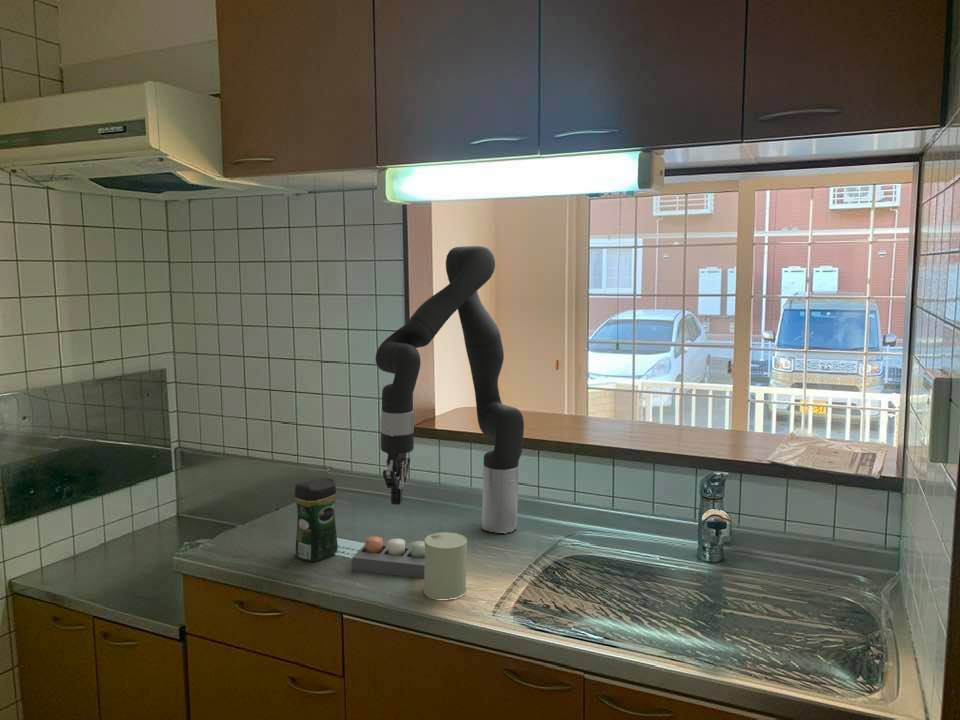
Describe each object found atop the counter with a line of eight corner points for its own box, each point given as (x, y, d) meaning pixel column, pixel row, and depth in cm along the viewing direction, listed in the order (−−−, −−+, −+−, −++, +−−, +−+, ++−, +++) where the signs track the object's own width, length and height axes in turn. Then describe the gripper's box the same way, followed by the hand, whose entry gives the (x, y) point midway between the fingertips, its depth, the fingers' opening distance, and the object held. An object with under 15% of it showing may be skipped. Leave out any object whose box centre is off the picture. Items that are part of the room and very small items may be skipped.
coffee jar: (320, 544, 183) (320, 471, 180) (342, 552, 178) (342, 478, 175) (289, 556, 175) (288, 480, 172) (311, 565, 170) (310, 487, 168)
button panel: (370, 550, 180) (370, 538, 179) (438, 557, 176) (438, 545, 176) (352, 570, 168) (352, 557, 168) (424, 578, 165) (424, 565, 164)
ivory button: (390, 550, 174) (391, 537, 174) (407, 551, 173) (407, 539, 173) (385, 556, 170) (385, 544, 170) (401, 558, 170) (401, 545, 169)
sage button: (413, 552, 173) (413, 540, 173) (429, 554, 172) (429, 541, 172) (408, 559, 169) (408, 546, 169) (424, 560, 168) (425, 548, 168)
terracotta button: (368, 547, 175) (368, 535, 175) (384, 549, 175) (384, 537, 174) (362, 554, 172) (362, 541, 171) (379, 555, 171) (379, 543, 170)
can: (443, 578, 165) (444, 526, 163) (475, 590, 159) (476, 537, 158) (414, 591, 158) (415, 538, 156) (446, 605, 152) (447, 549, 151)
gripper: (391, 422, 175) (390, 493, 177) (371, 435, 162) (371, 511, 165) (421, 425, 174) (420, 496, 176) (403, 437, 161) (403, 514, 163)
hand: (396, 503), depth 170 cm, fingers closed
